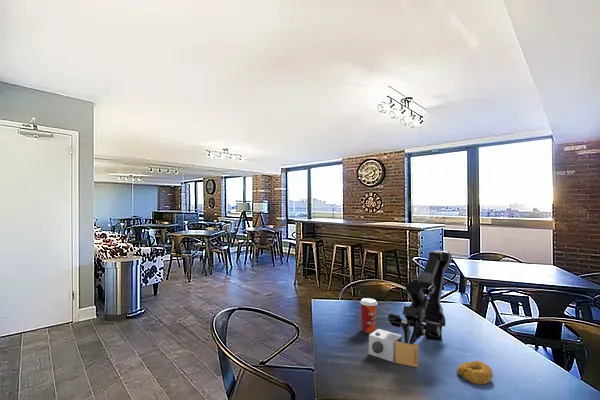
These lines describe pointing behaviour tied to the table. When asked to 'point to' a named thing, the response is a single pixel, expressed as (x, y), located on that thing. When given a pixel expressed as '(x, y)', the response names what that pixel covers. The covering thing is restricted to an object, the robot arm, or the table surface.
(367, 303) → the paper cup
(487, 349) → the table surface
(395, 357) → the side door
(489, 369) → the bagel
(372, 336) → the white block
